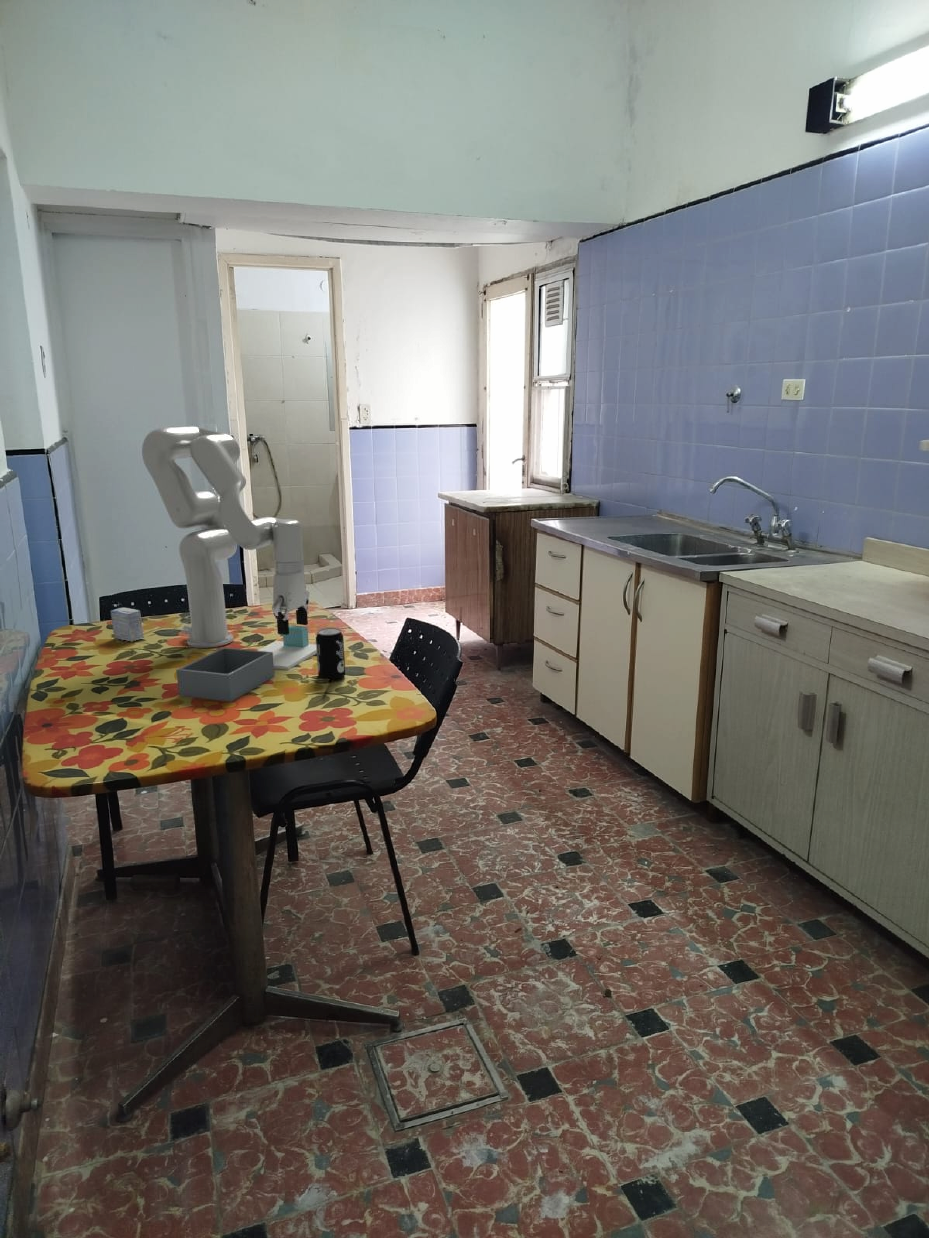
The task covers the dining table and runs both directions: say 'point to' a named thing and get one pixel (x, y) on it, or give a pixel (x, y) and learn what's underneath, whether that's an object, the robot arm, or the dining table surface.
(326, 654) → the beverage can
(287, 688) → the dining table surface
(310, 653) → the lid
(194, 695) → the tub
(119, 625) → the white upright block
